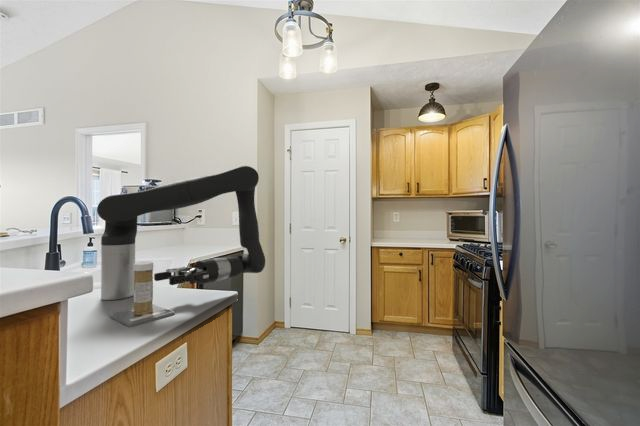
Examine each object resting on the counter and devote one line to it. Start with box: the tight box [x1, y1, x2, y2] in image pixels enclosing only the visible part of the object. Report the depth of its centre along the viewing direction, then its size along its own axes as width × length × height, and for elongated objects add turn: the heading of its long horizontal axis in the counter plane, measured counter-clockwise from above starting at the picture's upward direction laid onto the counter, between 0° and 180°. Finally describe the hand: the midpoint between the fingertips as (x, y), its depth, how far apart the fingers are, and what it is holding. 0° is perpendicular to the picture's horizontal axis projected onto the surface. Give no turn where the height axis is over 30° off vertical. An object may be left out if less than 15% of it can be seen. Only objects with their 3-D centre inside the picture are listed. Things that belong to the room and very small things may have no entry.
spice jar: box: [133, 261, 154, 315], centre depth 78 cm, size 5×5×14 cm
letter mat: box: [108, 303, 175, 328], centre depth 77 cm, size 12×11×1 cm
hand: (162, 279), depth 82 cm, fingers open, 8 cm apart
